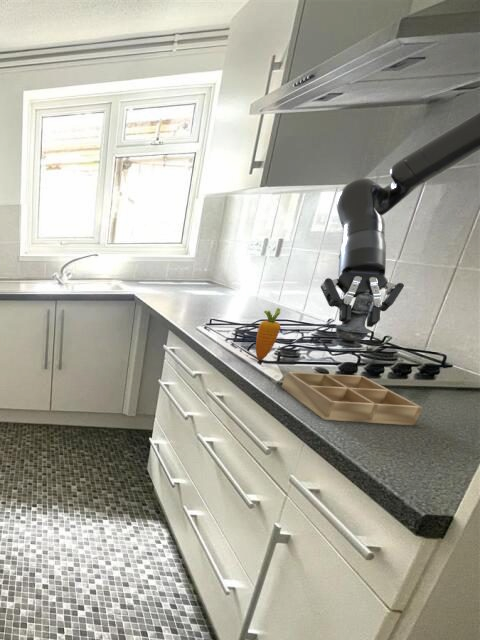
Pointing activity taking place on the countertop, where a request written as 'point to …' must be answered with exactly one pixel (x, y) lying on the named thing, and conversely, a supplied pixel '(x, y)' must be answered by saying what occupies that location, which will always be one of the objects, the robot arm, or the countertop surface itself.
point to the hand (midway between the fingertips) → (359, 323)
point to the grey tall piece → (355, 323)
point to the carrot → (267, 334)
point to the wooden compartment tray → (350, 398)
